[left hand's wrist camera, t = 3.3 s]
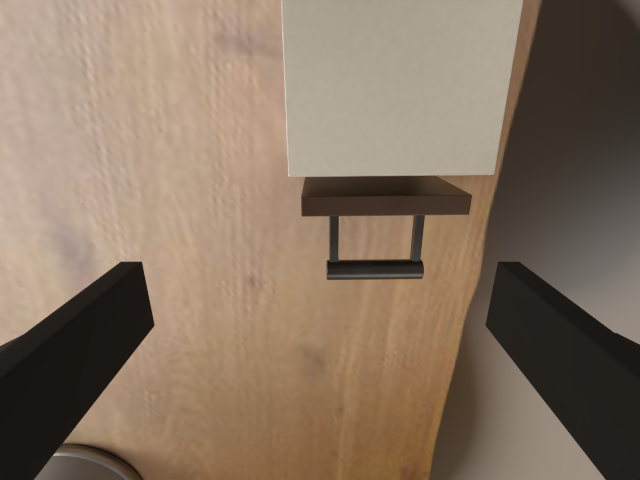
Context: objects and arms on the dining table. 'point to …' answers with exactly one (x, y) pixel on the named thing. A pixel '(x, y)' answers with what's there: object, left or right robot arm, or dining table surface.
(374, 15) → the cabinet
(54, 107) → the dining table surface
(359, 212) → the drawer
